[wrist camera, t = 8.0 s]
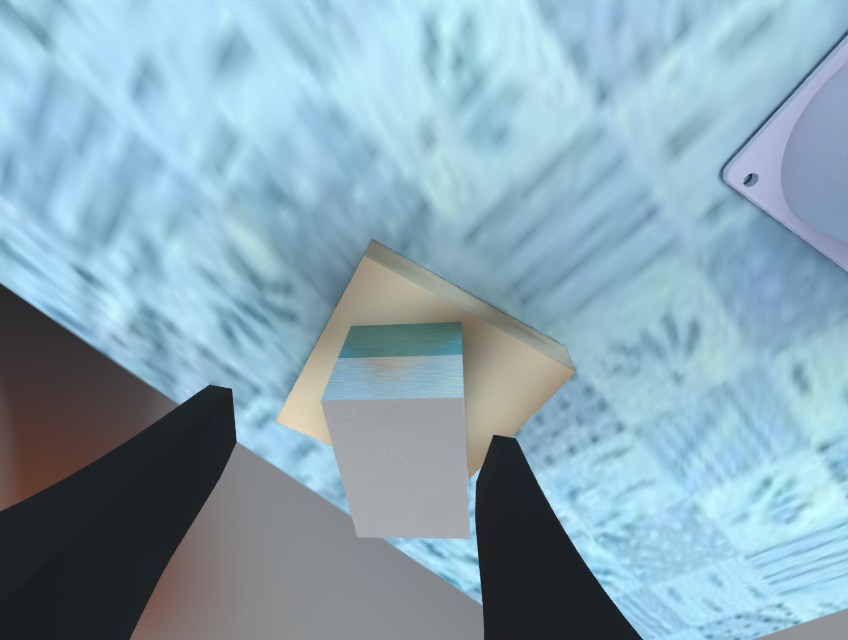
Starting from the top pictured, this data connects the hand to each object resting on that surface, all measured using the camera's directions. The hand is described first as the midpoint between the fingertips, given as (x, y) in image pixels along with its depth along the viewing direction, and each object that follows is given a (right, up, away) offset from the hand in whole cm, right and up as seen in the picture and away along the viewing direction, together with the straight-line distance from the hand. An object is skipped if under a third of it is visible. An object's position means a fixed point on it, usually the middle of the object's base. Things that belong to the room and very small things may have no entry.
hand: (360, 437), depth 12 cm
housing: (+1, 0, +9) cm, 9 cm away
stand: (+1, 0, +11) cm, 11 cm away
